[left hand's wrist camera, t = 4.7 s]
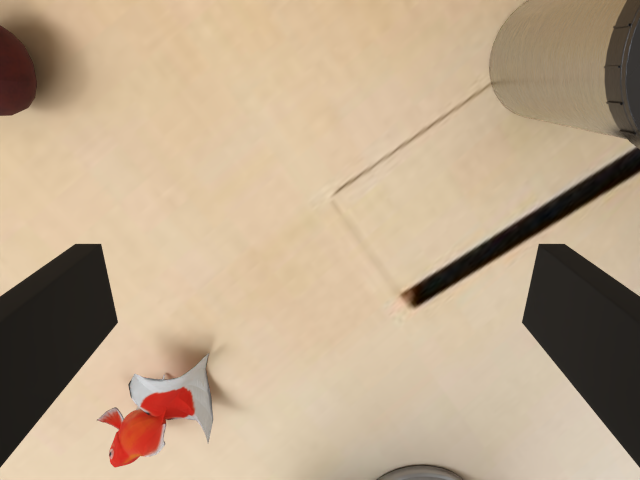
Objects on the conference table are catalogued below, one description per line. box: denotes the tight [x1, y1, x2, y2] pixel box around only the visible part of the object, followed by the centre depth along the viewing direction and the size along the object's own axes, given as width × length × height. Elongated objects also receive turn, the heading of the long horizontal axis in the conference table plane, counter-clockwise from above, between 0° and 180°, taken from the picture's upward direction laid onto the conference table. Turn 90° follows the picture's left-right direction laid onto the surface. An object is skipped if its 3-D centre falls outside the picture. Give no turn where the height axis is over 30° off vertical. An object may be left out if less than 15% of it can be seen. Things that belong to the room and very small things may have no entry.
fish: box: [98, 353, 213, 467], centre depth 45 cm, size 11×16×10 cm
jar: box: [490, 0, 627, 139], centre depth 28 cm, size 10×10×18 cm
